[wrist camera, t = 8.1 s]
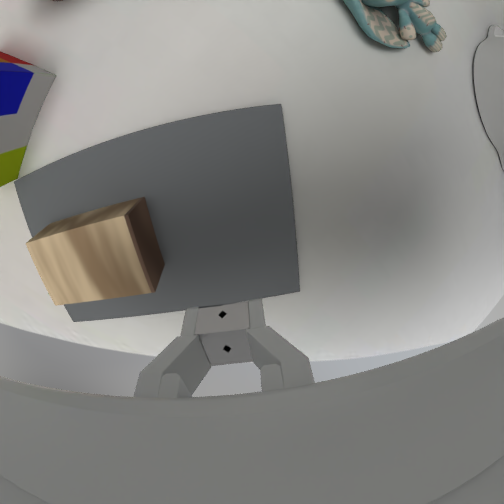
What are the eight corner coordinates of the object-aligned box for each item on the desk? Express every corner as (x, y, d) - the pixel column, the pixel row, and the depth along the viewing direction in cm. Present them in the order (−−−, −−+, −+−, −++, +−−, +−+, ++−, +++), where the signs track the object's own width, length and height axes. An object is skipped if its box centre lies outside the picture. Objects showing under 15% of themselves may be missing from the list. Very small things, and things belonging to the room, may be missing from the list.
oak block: (128, 214, 16) (25, 243, 16) (155, 292, 19) (55, 305, 19) (144, 196, 20) (49, 223, 20) (164, 264, 22) (73, 280, 22)
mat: (280, 104, 18) (281, 103, 17) (298, 288, 25) (299, 291, 25) (16, 180, 18) (14, 181, 17) (74, 319, 25) (73, 321, 25)
